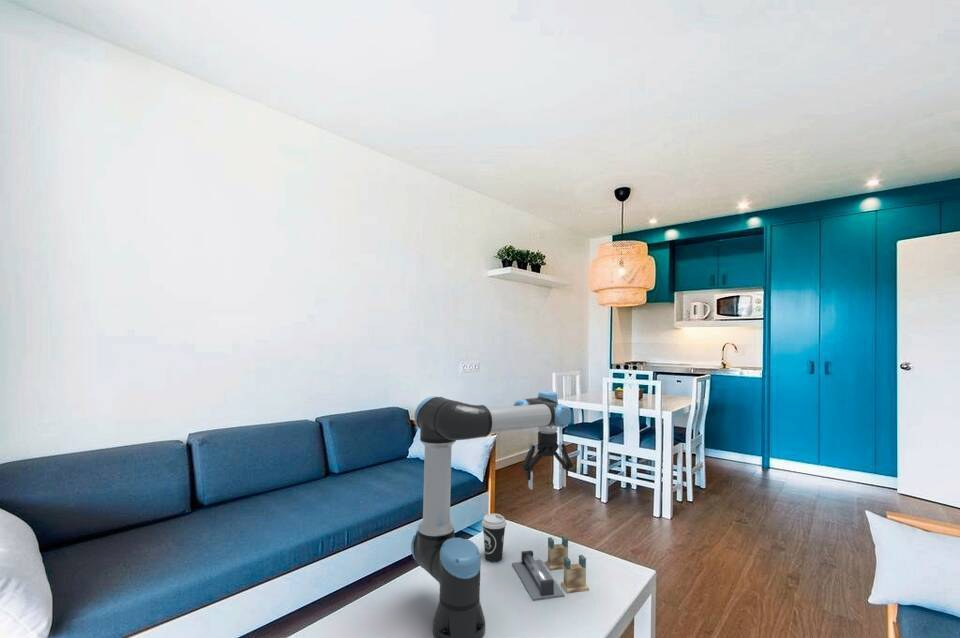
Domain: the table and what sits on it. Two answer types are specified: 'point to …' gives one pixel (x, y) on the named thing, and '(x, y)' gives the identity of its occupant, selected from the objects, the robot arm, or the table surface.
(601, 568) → the table surface
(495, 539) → the coffee cup
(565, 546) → the post far
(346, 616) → the table surface
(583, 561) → the post near
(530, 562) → the rail
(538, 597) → the pad
